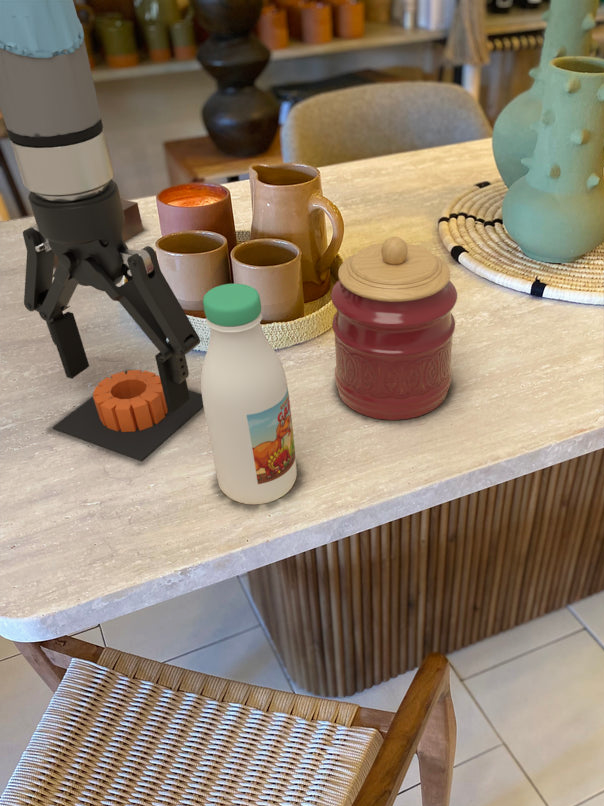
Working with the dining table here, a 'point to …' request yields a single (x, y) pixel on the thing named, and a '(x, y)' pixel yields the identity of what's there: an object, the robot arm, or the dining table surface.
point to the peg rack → (127, 222)
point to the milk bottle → (246, 400)
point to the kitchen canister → (393, 330)
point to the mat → (130, 444)
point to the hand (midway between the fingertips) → (127, 388)
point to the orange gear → (130, 400)
